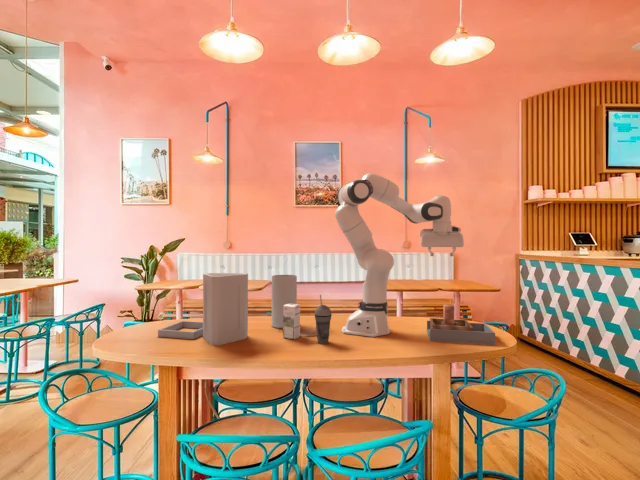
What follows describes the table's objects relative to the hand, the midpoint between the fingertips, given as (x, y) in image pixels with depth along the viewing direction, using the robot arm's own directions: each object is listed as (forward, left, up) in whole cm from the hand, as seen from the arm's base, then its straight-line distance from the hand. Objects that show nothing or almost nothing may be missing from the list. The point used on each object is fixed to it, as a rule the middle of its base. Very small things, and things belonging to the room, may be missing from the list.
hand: (441, 256), depth 172 cm
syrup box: (-67, -36, -35) cm, 84 cm away
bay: (+5, -19, -35) cm, 40 cm away
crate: (+2, -19, -34) cm, 39 cm away
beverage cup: (-52, -40, -35) cm, 75 cm away
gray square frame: (-116, -40, -35) cm, 128 cm away
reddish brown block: (+1, -19, -33) cm, 38 cm away
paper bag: (-95, -47, -35) cm, 112 cm away
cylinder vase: (-77, -17, -35) cm, 86 cm away
